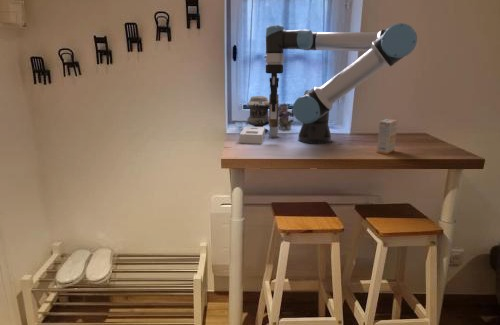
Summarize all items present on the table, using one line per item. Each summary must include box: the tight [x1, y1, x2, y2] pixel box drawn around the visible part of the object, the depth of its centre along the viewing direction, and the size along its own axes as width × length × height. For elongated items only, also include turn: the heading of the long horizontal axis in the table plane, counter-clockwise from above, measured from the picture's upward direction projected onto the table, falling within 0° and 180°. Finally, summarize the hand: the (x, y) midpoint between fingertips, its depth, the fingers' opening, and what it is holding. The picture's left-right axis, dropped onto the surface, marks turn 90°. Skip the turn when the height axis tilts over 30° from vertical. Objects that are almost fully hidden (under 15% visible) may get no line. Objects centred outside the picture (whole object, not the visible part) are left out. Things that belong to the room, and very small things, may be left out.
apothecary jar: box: [247, 95, 269, 133], centre depth 191 cm, size 12×12×18 cm
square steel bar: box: [268, 111, 280, 138], centre depth 179 cm, size 4×4×12 cm
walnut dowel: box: [268, 93, 280, 128], centre depth 163 cm, size 4×4×14 cm
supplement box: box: [376, 118, 399, 155], centre depth 151 cm, size 8×5×13 cm, turn 141°
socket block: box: [239, 126, 266, 145], centre depth 174 cm, size 10×20×4 cm, turn 174°
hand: (273, 118), depth 164 cm, fingers closed on walnut dowel, 4 cm apart
